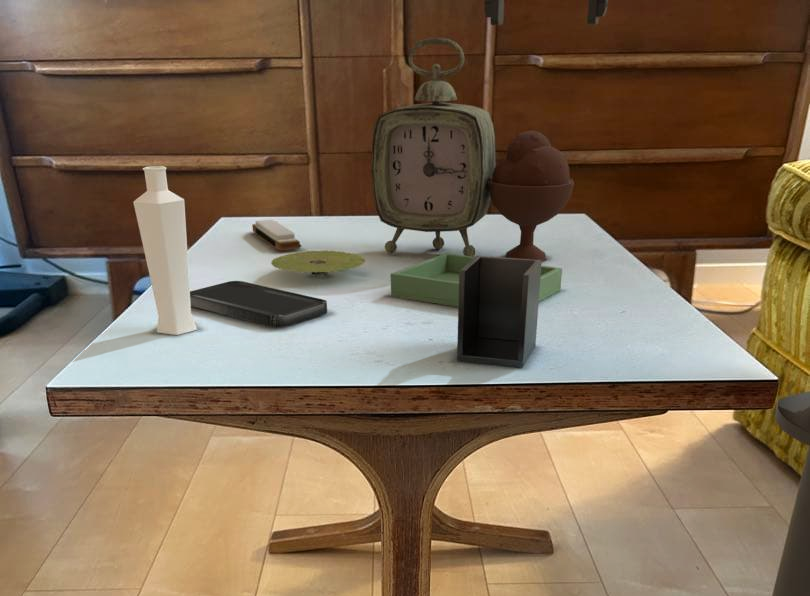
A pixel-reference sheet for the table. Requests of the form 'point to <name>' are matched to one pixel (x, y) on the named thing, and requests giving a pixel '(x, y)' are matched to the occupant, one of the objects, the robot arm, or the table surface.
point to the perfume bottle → (165, 251)
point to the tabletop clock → (433, 160)
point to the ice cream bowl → (530, 188)
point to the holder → (498, 310)
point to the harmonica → (276, 235)
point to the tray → (452, 280)
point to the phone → (258, 303)
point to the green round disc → (318, 262)
